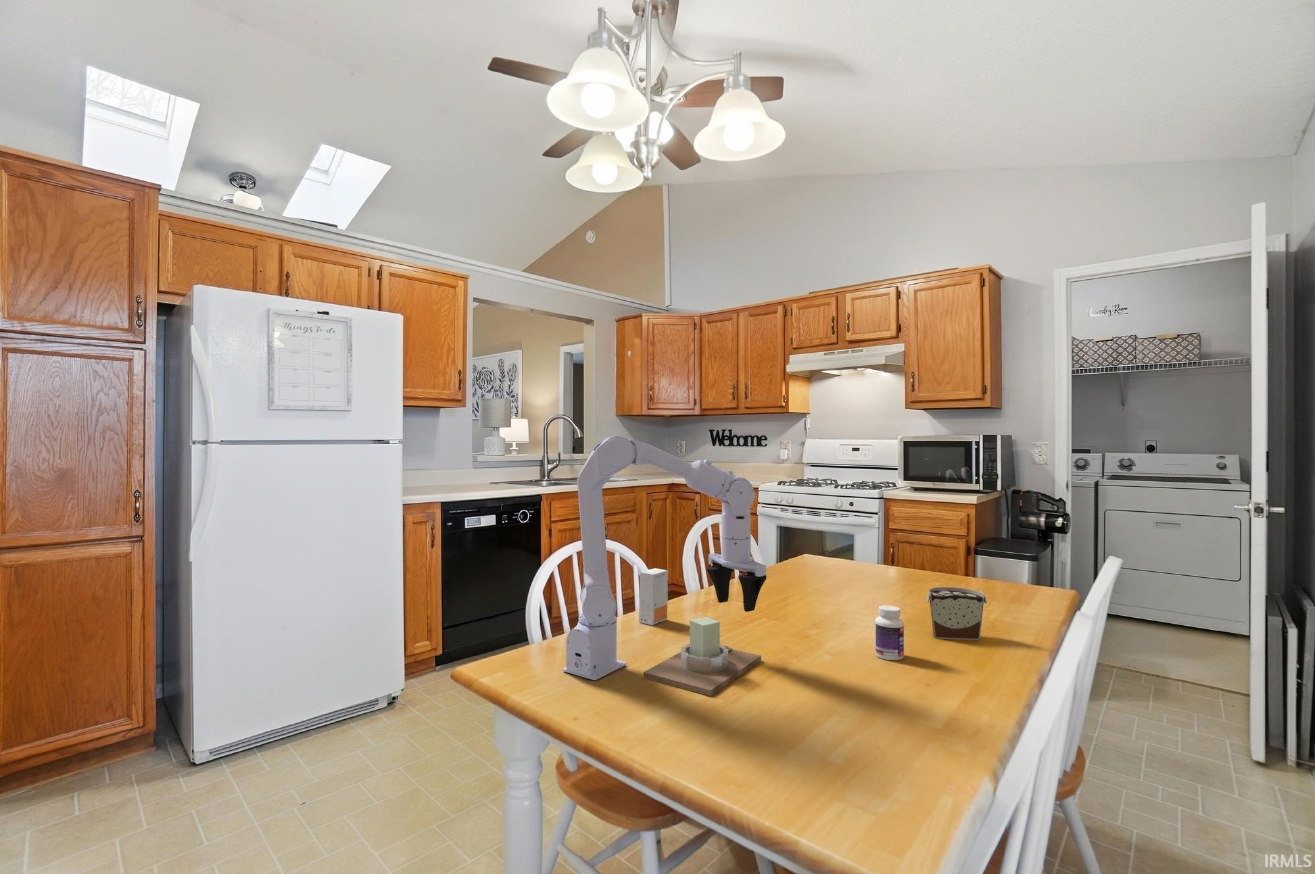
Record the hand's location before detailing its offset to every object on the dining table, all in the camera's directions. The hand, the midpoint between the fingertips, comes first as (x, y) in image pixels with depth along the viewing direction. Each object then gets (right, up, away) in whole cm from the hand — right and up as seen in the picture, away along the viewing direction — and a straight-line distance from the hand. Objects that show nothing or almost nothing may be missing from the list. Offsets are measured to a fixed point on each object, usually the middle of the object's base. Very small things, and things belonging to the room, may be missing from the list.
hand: (735, 606), depth 120 cm
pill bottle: (+31, -11, +2) cm, 33 cm away
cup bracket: (-7, -10, -5) cm, 13 cm away
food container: (+50, -11, +15) cm, 53 cm away
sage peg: (-7, -9, -5) cm, 13 cm away
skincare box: (-16, -11, +25) cm, 31 cm away
